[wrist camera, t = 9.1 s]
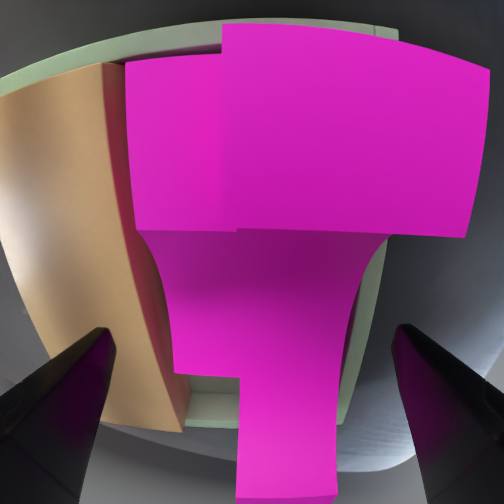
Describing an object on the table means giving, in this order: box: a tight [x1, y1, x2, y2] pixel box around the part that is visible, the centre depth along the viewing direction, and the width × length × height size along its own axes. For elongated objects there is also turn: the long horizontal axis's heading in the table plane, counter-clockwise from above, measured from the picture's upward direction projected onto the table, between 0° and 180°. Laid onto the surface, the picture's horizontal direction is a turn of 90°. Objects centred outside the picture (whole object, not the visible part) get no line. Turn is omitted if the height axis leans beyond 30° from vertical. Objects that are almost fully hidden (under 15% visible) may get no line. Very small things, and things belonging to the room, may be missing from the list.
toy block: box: [125, 23, 490, 504], centre depth 10 cm, size 15×6×8 cm, turn 179°
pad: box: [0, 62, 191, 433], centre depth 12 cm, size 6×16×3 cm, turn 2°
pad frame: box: [0, 18, 399, 429], centre depth 13 cm, size 15×18×2 cm
